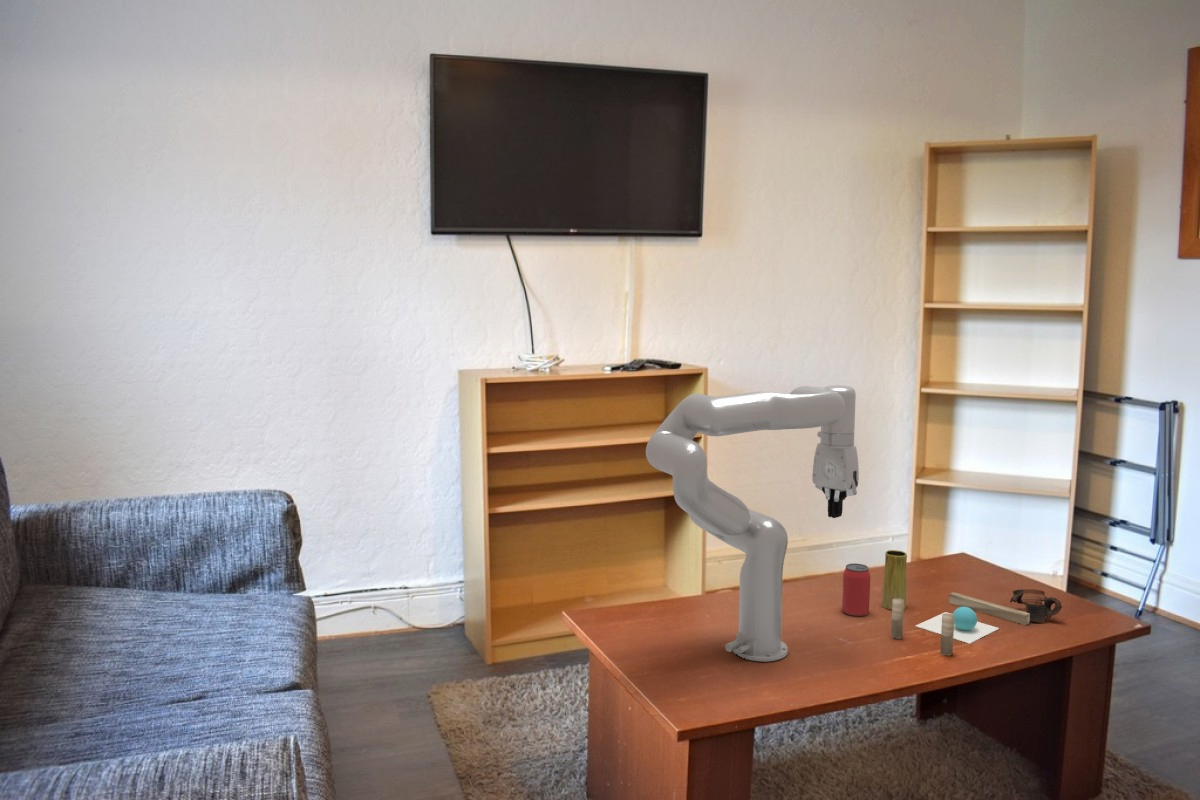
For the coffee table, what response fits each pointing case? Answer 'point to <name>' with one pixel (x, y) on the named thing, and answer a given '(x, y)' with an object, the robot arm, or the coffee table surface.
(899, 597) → the vase
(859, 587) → the beer can
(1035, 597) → the pottery mug
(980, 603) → the rail
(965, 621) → the ball
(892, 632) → the post left
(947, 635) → the post right
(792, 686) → the coffee table surface
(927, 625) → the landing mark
